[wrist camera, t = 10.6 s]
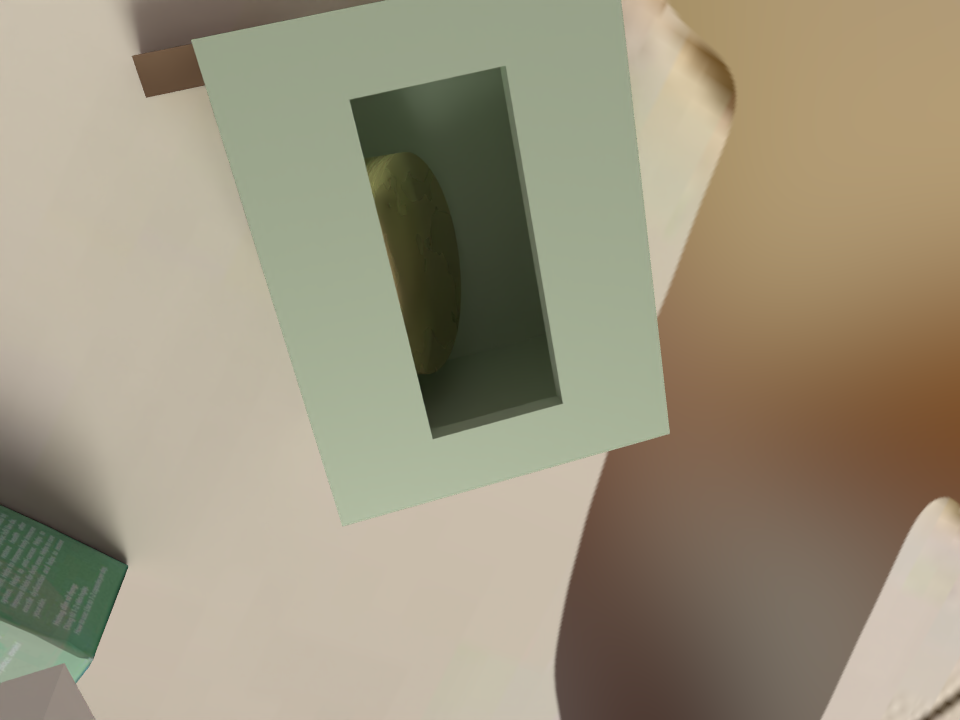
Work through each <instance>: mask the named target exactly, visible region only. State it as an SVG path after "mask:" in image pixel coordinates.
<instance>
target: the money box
mask: <svg viewBox="0 0 960 720" xmlns="http://www.w3.org/2000/svg"><path fill="white" fill-rule="evenodd" d="M191 41H192V45H193V48H194V51H195V54H196V57H197V61H198V64H199V67H200V70H201V74H202V77H203V80H204V83H205V86H206V90H207V93H208V96H209V99H210V102H211V106H212V109H213V112H214V115H215V118H216V122H217V125H218V128H219V131H220V135H221V138H222V141H223V144H224V147H225V151H226V154H227V157H228V160H229V163H230V167H231V170H232V173H233V176H234V179H235V183H236V186H237V189H238V192H239V196H240V199H241V202H242V205H243V208H244V212H245V215H246V218H247V221H248V224H249V228H250V231H251V234H252V237H253V240H254V244H255V247H256V250H257V253H258V256H259V260H260V263H261V266H262V269H263V273H264V276H265V279H266V282H267V285H268V289H269V292H270V295H271V298H272V301H273V305H274V308H275V311H276V314H277V317H278V321H279V324H280V327H281V330H282V334H283V337H284V340H285V343H286V346H287V350H288V353H289V356H290V359H291V362H292V366H293V369H294V372H295V375H296V378H297V382H298V385H299V388H300V391H301V394H302V398H303V401H304V404H305V407H306V411H307V414H308V417H309V420H310V423H311V427H312V430H313V433H314V436H315V439H316V443H317V446H318V449H319V452H320V455H321V459H322V462H323V465H324V468H325V472H326V475H327V478H328V481H329V484H330V488H331V491H332V494H333V497H334V500H335V504H336V507H337V510H338V513H339V516H340V520H341V523H342V526H346V525H350V524H353V523H357V522H360V521H364V520H367V519H371V518H374V517H378V516H381V515H385V514H388V513H392V512H395V511H399V510H402V509H406V508H409V507H413V506H417V505H420V504H424V503H427V502H431V501H434V500H438V499H441V498H445V497H448V496H452V495H455V494H459V493H462V492H466V491H469V490H473V489H476V488H480V487H483V486H487V485H490V484H494V483H498V482H501V481H505V480H508V479H512V478H515V477H519V476H522V475H526V474H529V473H533V472H536V471H540V470H543V469H547V468H550V467H554V466H557V465H561V464H564V463H568V462H571V461H575V460H579V459H582V458H586V457H589V456H593V455H596V454H600V453H603V452H607V451H610V450H613V449H617V448H621V447H624V446H628V445H631V444H635V443H638V442H642V441H645V440H649V439H652V438H656V437H660V436H663V435H666V434H669V433H670V432H669V424H668V423H669V422H668V414H667V405H666V397H665V388H664V378H663V369H662V360H661V352H660V343H659V334H658V325H657V316H656V307H655V298H654V289H653V280H652V271H651V262H650V253H649V245H648V236H647V227H646V218H645V209H644V200H643V191H642V182H641V173H640V164H639V156H638V147H637V138H636V129H635V120H634V111H633V102H632V93H631V84H630V76H629V67H628V58H627V49H626V40H625V31H624V22H623V13H622V4H621V0H384V1H379V2H375V3H370V4H365V5H360V6H355V7H350V8H345V9H340V10H335V11H330V12H325V13H320V14H315V15H311V16H306V17H301V18H296V19H291V20H286V21H281V22H276V23H271V24H266V25H261V26H256V27H251V28H247V29H242V30H237V31H232V32H227V33H222V34H217V35H212V36H207V37H202V38H197V39H192V40H191ZM400 152H411V153H413V154H415V155H417V156H418V157H420V158H421V159H422V160H423V161H424V162H425V163H426V164H427V165H428V167H429V168H430V169H431V171H432V172H433V174H434V175H435V177H436V179H437V181H438V183H439V185H440V187H441V189H442V191H443V194H444V196H445V199H446V202H447V205H448V208H449V211H450V214H451V218H452V222H453V226H454V230H455V235H456V240H457V246H458V253H459V261H460V273H461V308H460V318H459V325H458V331H457V335H456V340H455V343H454V346H453V349H452V352H451V354H450V356H449V358H448V360H447V361H446V363H445V364H444V365H443V366H442V368H441V369H439V370H438V371H436V372H435V373H431V374H418V375H417V373H416V369H415V365H414V361H413V357H412V353H411V348H410V344H409V340H408V336H407V332H406V328H405V324H404V320H403V316H402V312H401V308H400V304H399V300H398V296H397V291H396V287H395V283H394V279H393V275H392V271H391V267H390V263H389V259H388V255H387V251H386V247H385V243H384V239H383V234H382V230H381V226H380V222H379V218H378V214H377V210H376V206H375V202H374V198H373V194H372V190H371V186H370V182H369V178H368V173H367V169H366V165H365V161H364V158H369V157H375V156H382V155H388V154H394V153H400Z"/></svg>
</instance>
